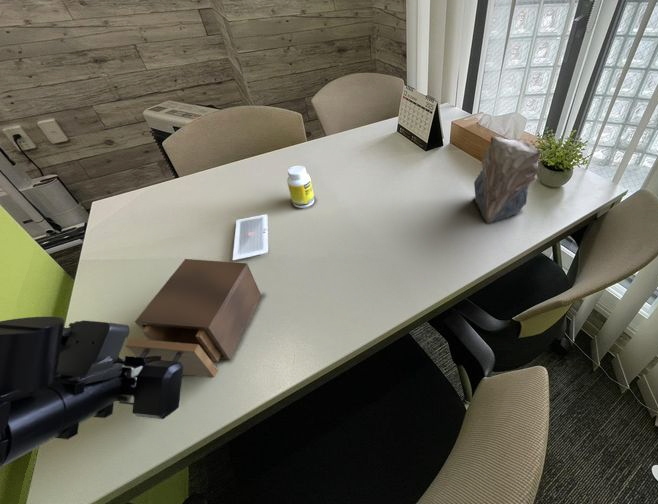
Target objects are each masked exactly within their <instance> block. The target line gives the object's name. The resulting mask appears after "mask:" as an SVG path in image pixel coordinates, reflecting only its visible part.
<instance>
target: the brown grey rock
mask: <svg viewBox="0 0 658 504" xmlns="http://www.w3.org/2000/svg"><path fill="white" fill-rule="evenodd" d="M542 152H543V150H542V149H539V148H536V147H534V146H533V145H531V144H530V143H529V142H528V141H526V140H523V139H519V140H516V139H511V138H510V139H506V138H503V137H501V136H495V135H494V136H493V135H492V136H491V137H490V144H489V146H488V147H487V148H486V149H485V150H484V152H483V154H482V160H481V168H482V170H480V172H479V174H478V175H477V177H476V178H475V180H474V182H473V185H474V202H475V204H476V205H477V208H478V209H479V211H480V213H481V216H482V218H483V219H484V221H485V222H486V224H490V223H495V222H497V221H501V220H502V219H507V218H510V217H511V216H517V215H519V214H520V212H521V210H522V208H524V206H525V205H526V204H527V202H528V194H529V188H530V186H531V184H532V183H533V181H535V180H536V175H537V174H538V171H539V159H540V157H541V154H542Z"/></svg>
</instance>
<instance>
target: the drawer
mask: <svg viewBox="0 0 658 504" xmlns="http://www.w3.org/2000/svg"><path fill="white" fill-rule="evenodd" d="M141 333H142V334H143V335H144V337H146V338H147V339H140V338H129V340H128V341H126V343H125V345H124V346H125V347H126V348H127V349H128V351H130V352H131V353H132V354H133V355H134V357H142V358H143V357H150V356H161V360H166V361H177V362H181V364H182V365H183V375H185V376H196V377H206V378H216V376H217V374H218V372H219V369H218V368H217V366H216V365H215V364H214V362H219V361H220V360H221V359H220V357H221V355H222V353H221V351H220V350H219V348H218V347H217V346H216V344H215V343H214V341H213V340H212V338H211V337H210V335H209V334H208V333H207V331H206V330H199V329H187V328H175V327H164V326H152V325H146V326H145V328H144V329H143V330H142V329H141Z"/></svg>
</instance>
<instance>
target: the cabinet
mask: <svg viewBox="0 0 658 504" xmlns="http://www.w3.org/2000/svg"><path fill="white" fill-rule="evenodd" d="M262 298H263V296H262V294H261V291H260V288H259V287H258V285H257V282H256V280H255V278H254V275H253V273H252V271H251V269H250V266H249V265H248V263H247V262H236V261H223V260H206V259H193V258H184V260H183V261H182V262H181V263H180V264H179V266H178V267H177V268H176V270H175V271H174V272H173V273H172V275H171V276H170V277H169V278H168V279H167V280H166V282H165V283H164V284H163V286H162V287H161V288H160V290H159V291H158V292H157V293H156V295H155V296H154V297H152V299H151V301H150V302H149V303H148V305H147V306H146V307H145V308H144V310H143V311H142V312H141V313H140V314H139V316H138V317H137V318H136V319H135V321H134V323H135V324H136V325H137V326H138V327H139V328H140V329H141V331H142V330H143V329H144V328H145V326H146V325H152V326H164V327H175V328H187V329H199V330H206V331H207V333H208V334H209V335H210V337H211V338H212V340H213V341H214V343H215V344H216V346H217V347H218V348H219V350H220V351H221V353H222V355H221V357H220V359H219V360H227V361H228V360H229V361H230V360H231V359H232V357H233V355H234V353H235V351H236V350H237V347H238V345H239V343H240V341H241V339H242V337H243V335H244V333H245V331H246V329H247V327H248V325H249V323H250V321H251V319H252V317H253V316H254V313H255V311H256V309H257V307H258V306H259V303H260V301H261V300H262Z"/></svg>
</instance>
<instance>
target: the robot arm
mask: <svg viewBox="0 0 658 504" xmlns="http://www.w3.org/2000/svg"><path fill="white" fill-rule="evenodd" d="M130 332H131V328H130V326H129V325H127V324H123V323H115V322H108V321H107V322H105V321H95V320H79V321H77V320H76V321H74V322H69V323H68V327H66V326H65V319H64V317H59V316H32V317H31V316H30V317H19V318H11V319H4V320H1V321H0V469H2V468H3V467H5V466H6V465H8V464H10V463H12V462H13V461H16V460H18V459H19V458H21V457H22V456H23V457H24V456H25V455H26V454H28V453H31V451H34V450H36V449H37V448H39V447H41V446H42V445H45V444H46V443H48V442H50V441H52V440H54V439H61V440H70V439H71V438H73V437H75V436H76V435H78V434H79V428H80V425H81V424H82V423H84V422H86V421H88V420H90V419H91V418H98V419H106V418H108V417H109V416H111V415H113V412H114V406H115V405H114V404H115V402H117V403H119V404H124V405H132V411H131V413H132V414H133V415H134V416H136V417H138V418H146V419H147V418H148V419H156V420H164V419H165V418H167V417H169V416H170V415H171V414H173V413H174V412H175V411H176V410H178V409H179V407H180V402H181V401H180V399H181V392H182V385H183V384H182V383H183V375H184V374H183V365H182V364H181V362H177V361H166V360H161V356H150V357H143V358H142V357H136V356H132V355H131V356H130V355H125V356H124V359H122V358H121V357H119V356H120V354H121V351H122V349H123V347H124V344H125V342H126V339H127V338H128V337H129V335H130Z"/></svg>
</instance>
